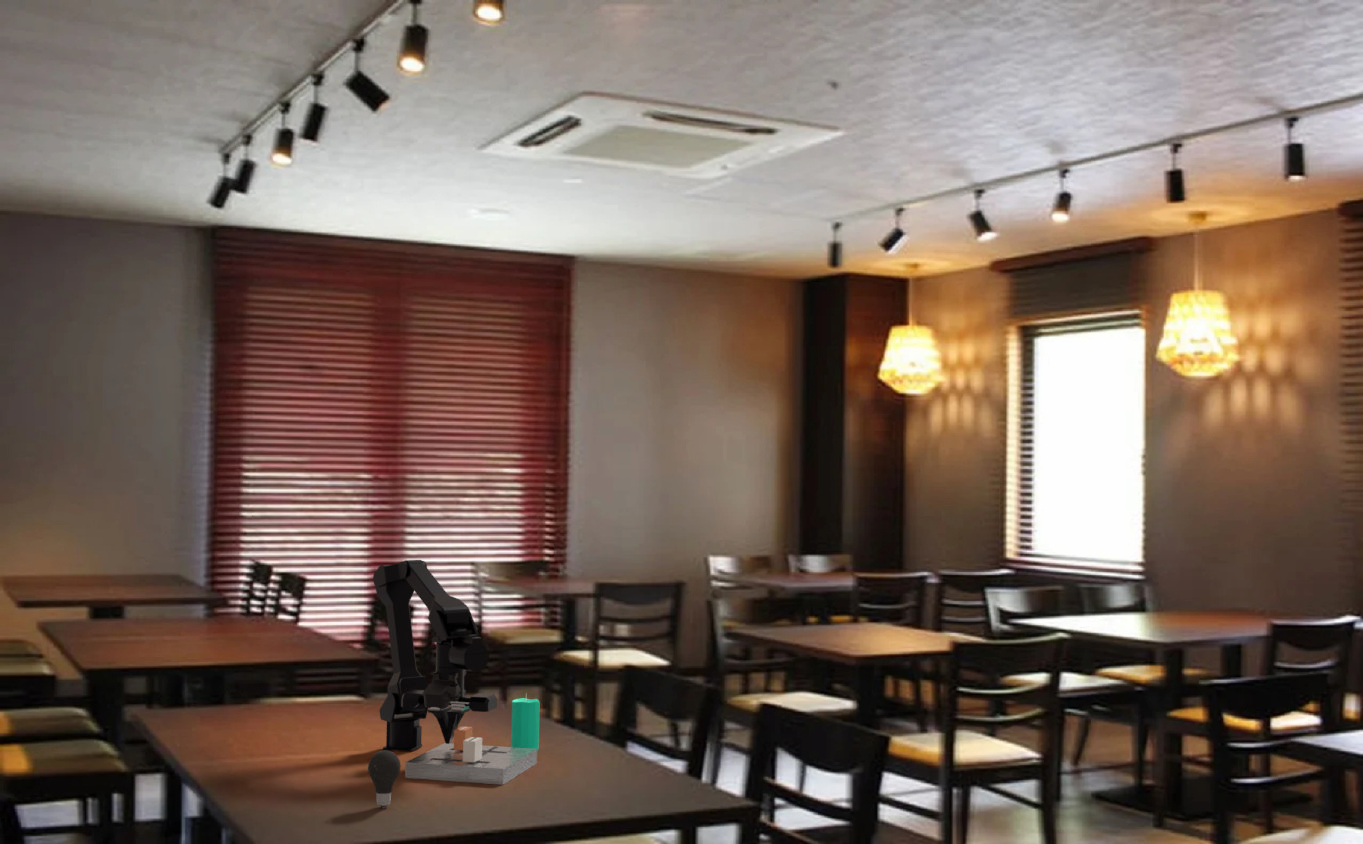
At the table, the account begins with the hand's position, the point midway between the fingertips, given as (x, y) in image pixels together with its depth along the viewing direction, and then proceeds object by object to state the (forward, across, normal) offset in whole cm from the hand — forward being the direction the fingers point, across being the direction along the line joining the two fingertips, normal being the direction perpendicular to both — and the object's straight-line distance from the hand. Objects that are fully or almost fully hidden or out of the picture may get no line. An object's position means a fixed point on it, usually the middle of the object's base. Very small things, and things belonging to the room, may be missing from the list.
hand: (448, 743), depth 286 cm
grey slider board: (+4, +7, -4) cm, 9 cm away
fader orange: (+4, +3, 0) cm, 5 cm away
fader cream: (+4, +9, -10) cm, 14 cm away
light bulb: (+4, +3, -37) cm, 38 cm away
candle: (+4, +10, +19) cm, 22 cm away
